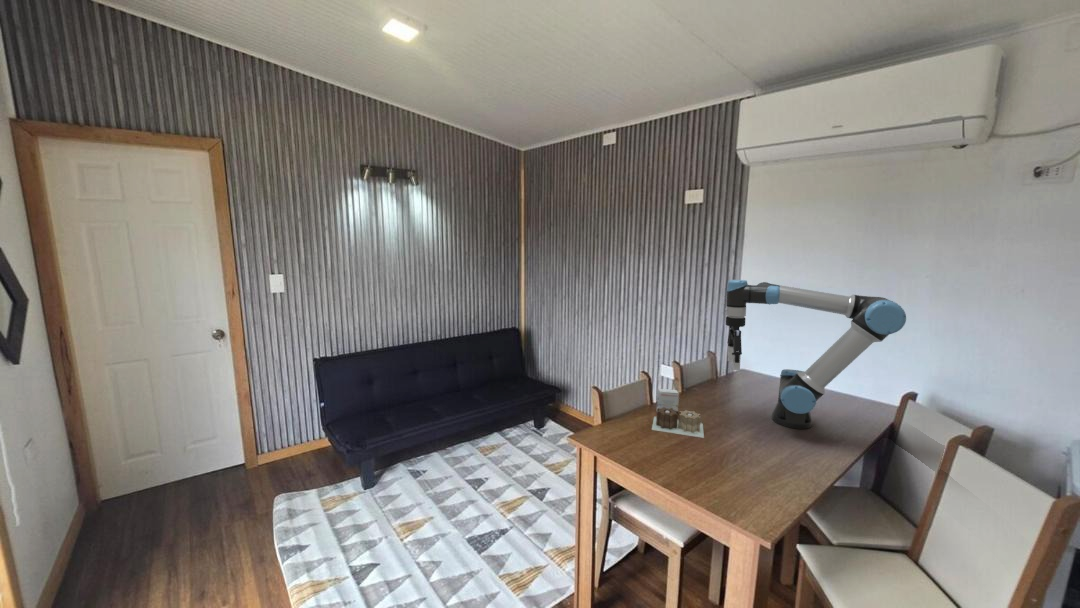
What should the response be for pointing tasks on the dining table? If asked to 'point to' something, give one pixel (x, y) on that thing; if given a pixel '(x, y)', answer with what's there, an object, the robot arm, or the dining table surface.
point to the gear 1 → (667, 418)
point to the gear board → (677, 430)
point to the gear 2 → (689, 421)
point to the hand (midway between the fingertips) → (733, 365)
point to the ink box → (668, 399)
